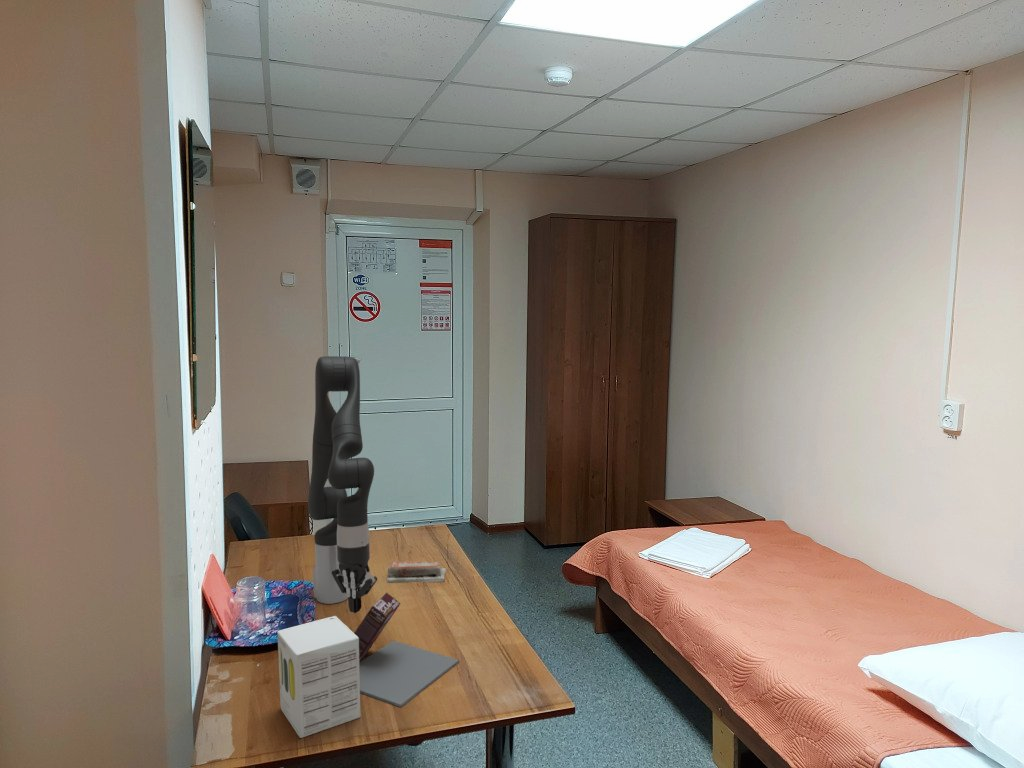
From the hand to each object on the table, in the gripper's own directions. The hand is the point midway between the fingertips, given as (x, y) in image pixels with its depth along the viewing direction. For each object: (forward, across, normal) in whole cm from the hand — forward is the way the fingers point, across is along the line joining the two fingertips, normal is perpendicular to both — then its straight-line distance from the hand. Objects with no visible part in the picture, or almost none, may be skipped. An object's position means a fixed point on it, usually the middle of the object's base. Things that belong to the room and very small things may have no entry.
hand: (355, 611), depth 168 cm
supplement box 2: (+11, -1, 0) cm, 11 cm away
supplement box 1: (+13, +9, -21) cm, 26 cm away
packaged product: (+13, -20, +50) cm, 55 cm away
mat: (+12, +12, 0) cm, 17 cm away
